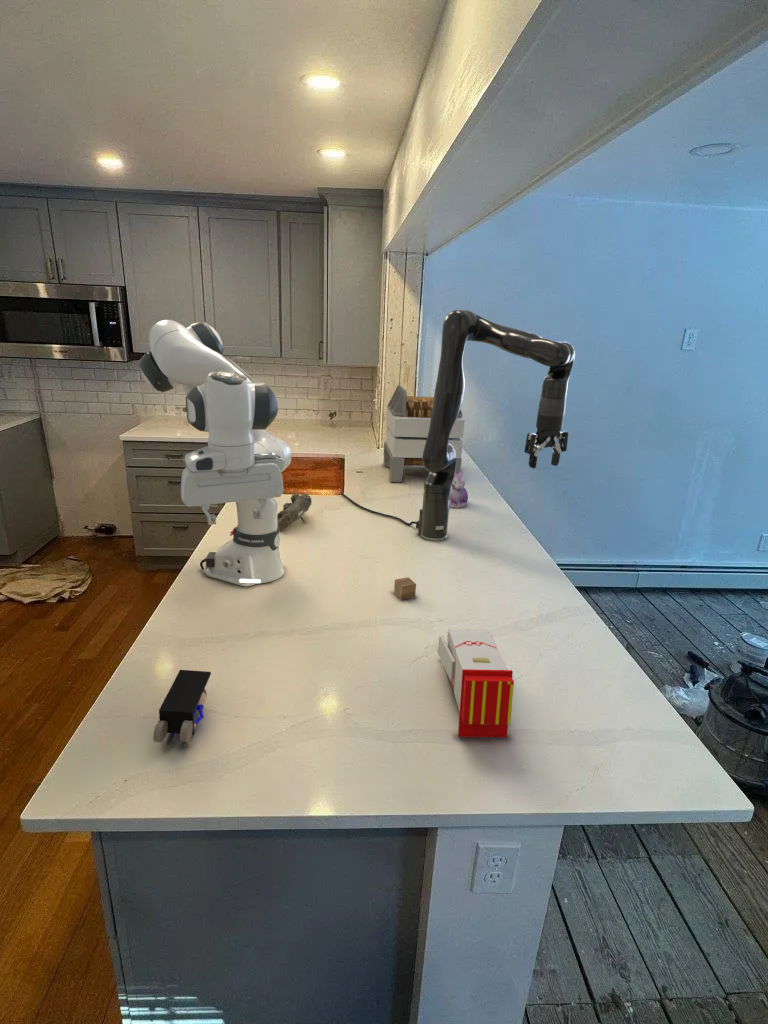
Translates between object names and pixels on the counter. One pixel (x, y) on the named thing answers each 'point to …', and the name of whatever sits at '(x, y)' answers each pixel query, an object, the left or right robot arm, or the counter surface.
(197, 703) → the figurine character
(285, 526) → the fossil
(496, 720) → the toy
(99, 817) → the counter surface
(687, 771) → the counter surface
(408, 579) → the brown wooden cube
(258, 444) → the left robot arm
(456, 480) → the figurine
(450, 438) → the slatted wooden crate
